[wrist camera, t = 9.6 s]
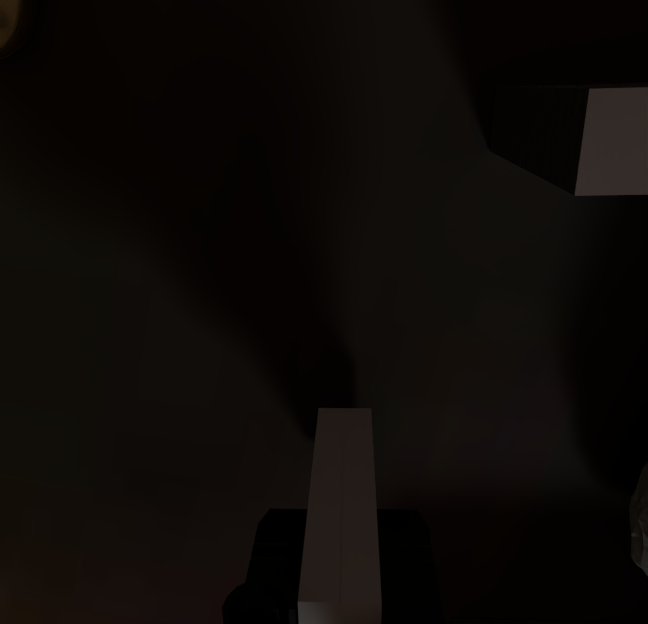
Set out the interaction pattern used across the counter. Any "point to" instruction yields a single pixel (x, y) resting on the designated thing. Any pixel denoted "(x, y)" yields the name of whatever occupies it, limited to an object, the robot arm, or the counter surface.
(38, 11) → the wooden spoon
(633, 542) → the decorative stone
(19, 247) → the counter surface
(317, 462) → the robot arm
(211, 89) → the counter surface
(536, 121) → the gray open-sided box
